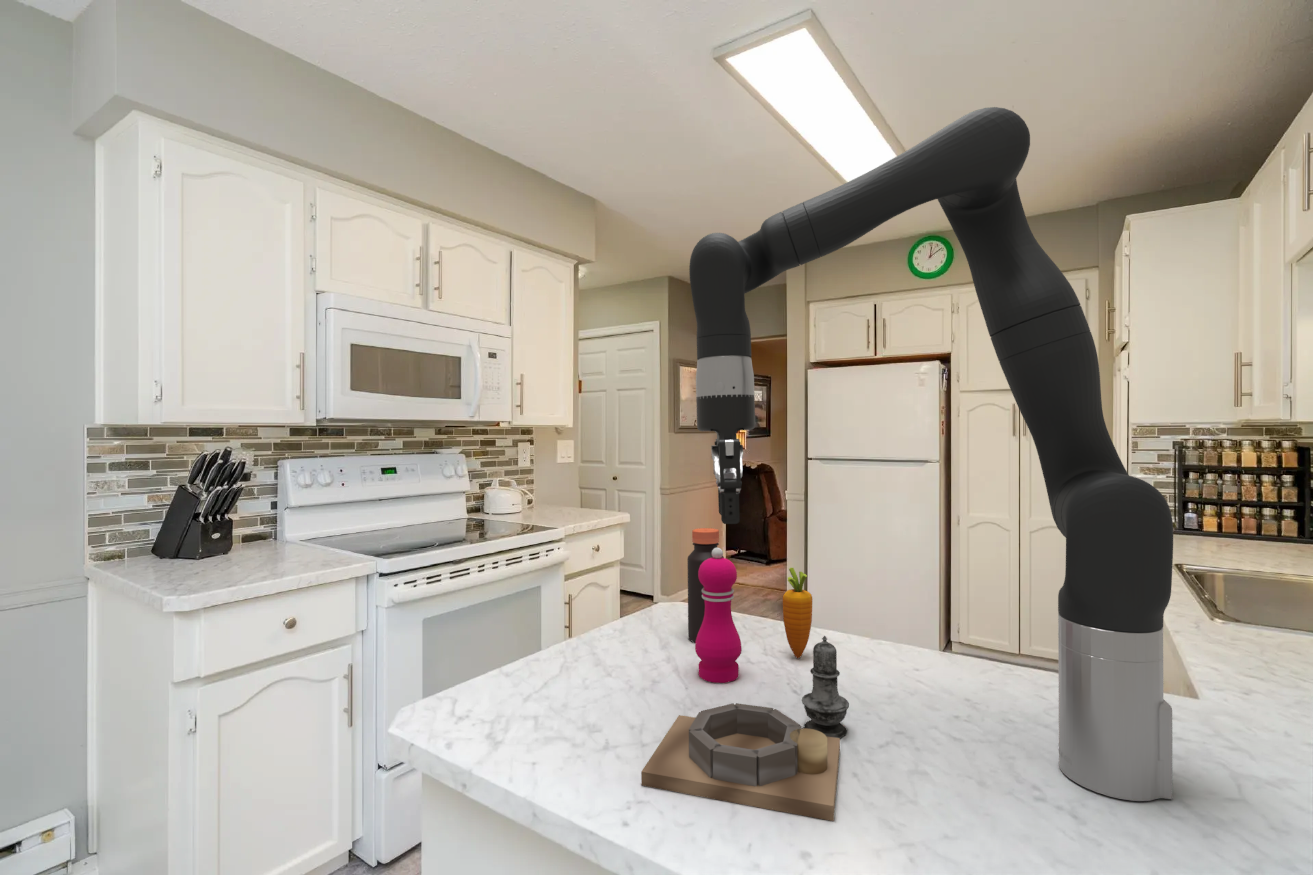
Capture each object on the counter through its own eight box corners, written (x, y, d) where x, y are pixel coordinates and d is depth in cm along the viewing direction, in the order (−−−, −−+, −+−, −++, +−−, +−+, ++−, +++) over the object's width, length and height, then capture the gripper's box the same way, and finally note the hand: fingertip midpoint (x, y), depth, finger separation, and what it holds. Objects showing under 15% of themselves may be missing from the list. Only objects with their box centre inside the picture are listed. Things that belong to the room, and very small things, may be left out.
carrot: (816, 663, 101) (815, 572, 101) (786, 663, 101) (785, 572, 101) (809, 652, 106) (808, 565, 106) (780, 652, 106) (779, 565, 106)
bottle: (686, 644, 111) (685, 532, 111) (690, 632, 118) (689, 527, 118) (724, 645, 110) (723, 533, 110) (726, 633, 117) (725, 527, 117)
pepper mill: (749, 672, 98) (748, 545, 98) (729, 688, 92) (728, 553, 92) (708, 663, 102) (707, 541, 102) (687, 678, 96) (685, 549, 96)
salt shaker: (852, 742, 76) (851, 644, 76) (802, 738, 77) (801, 642, 77) (847, 720, 82) (846, 629, 81) (801, 716, 83) (800, 627, 83)
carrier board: (840, 750, 74) (839, 713, 74) (833, 821, 61) (833, 775, 61) (679, 726, 80) (678, 691, 80) (641, 785, 67) (641, 743, 67)
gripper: (760, 389, 73) (763, 526, 73) (749, 396, 88) (752, 511, 88) (696, 391, 74) (700, 527, 74) (696, 398, 88) (699, 512, 88)
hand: (728, 518), depth 81 cm, fingers open, 8 cm apart
